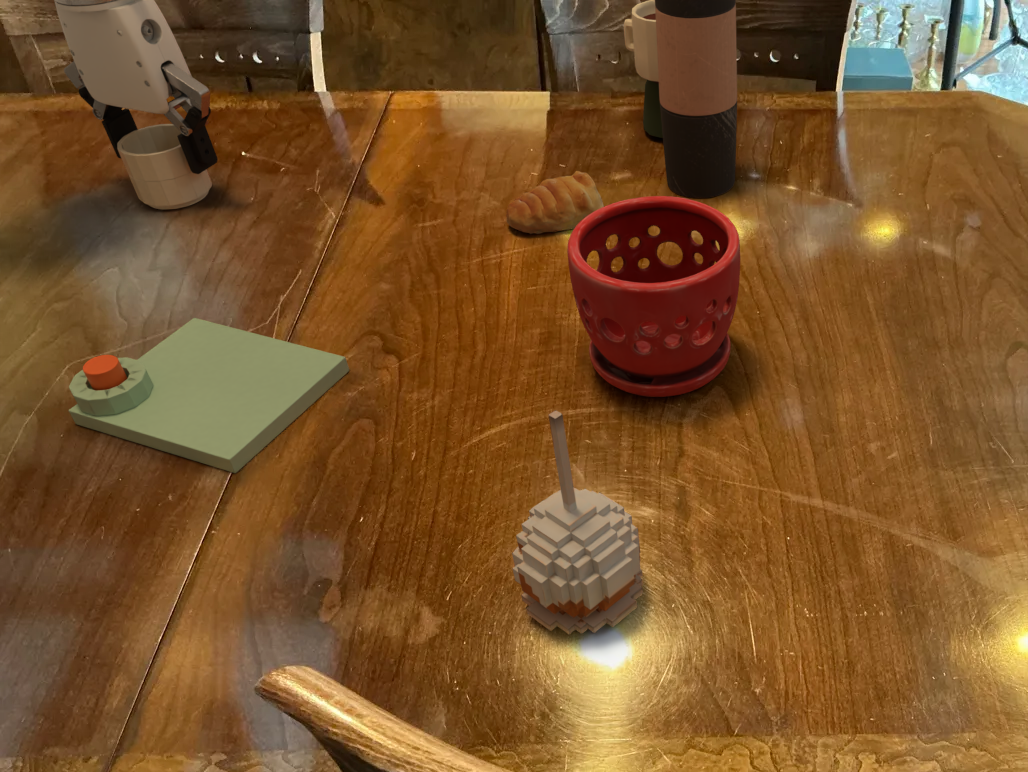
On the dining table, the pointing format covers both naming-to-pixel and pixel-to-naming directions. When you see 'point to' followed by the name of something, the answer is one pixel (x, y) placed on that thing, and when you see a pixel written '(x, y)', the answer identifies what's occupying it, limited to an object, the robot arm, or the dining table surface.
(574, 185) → the pastry
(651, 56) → the character mug
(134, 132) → the white cup
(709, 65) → the travel mug
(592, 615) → the candy apple
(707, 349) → the flower pot
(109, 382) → the tare button
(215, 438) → the scale
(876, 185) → the dining table surface
